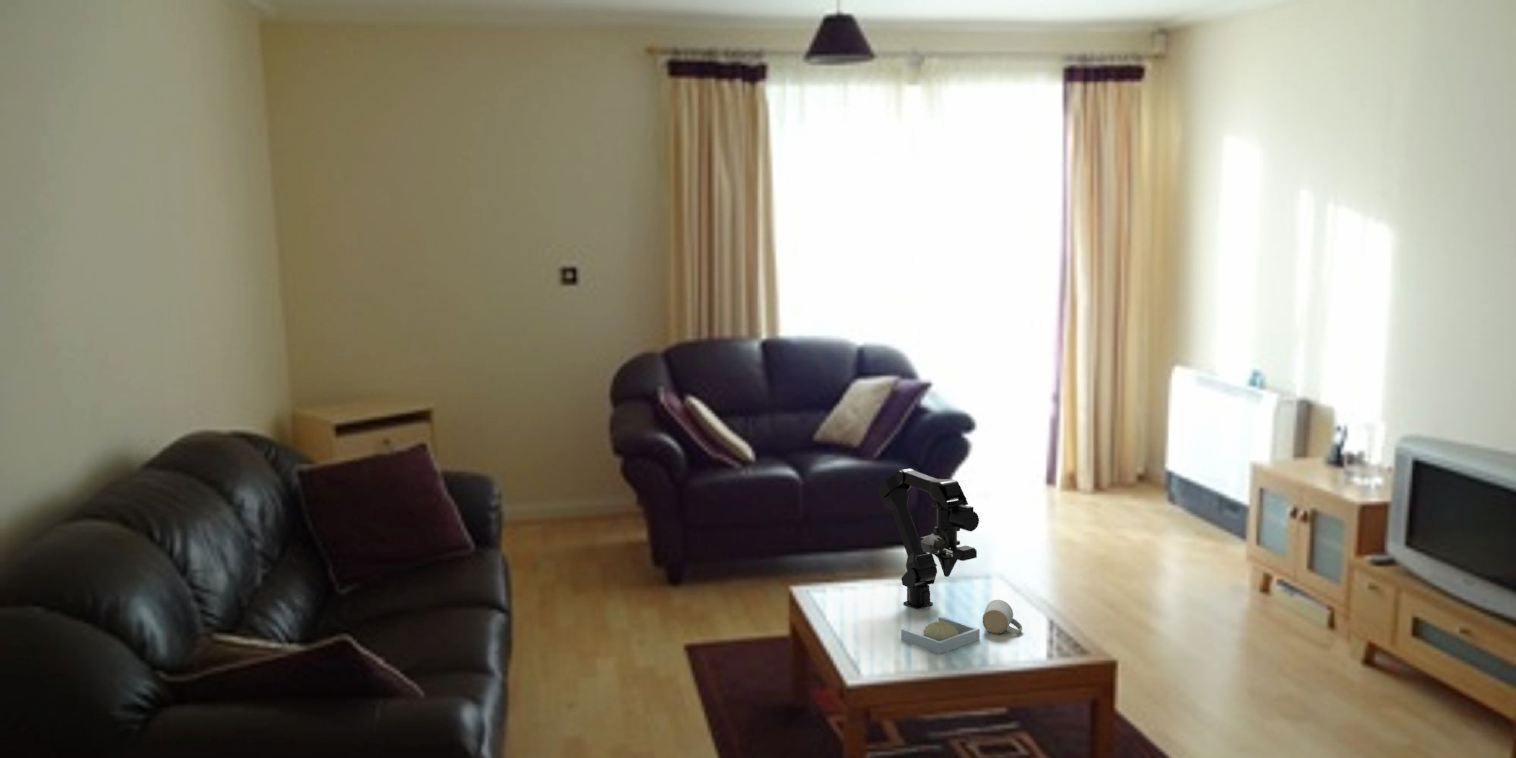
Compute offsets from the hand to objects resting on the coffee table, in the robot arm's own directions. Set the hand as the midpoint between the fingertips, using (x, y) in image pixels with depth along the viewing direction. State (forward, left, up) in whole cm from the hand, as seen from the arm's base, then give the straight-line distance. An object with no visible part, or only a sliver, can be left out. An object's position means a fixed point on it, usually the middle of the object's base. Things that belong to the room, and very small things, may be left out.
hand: (946, 576), depth 307 cm
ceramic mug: (+18, +3, -12) cm, 22 cm away
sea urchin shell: (+12, -16, -12) cm, 23 cm away
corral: (+11, -15, -12) cm, 22 cm away
